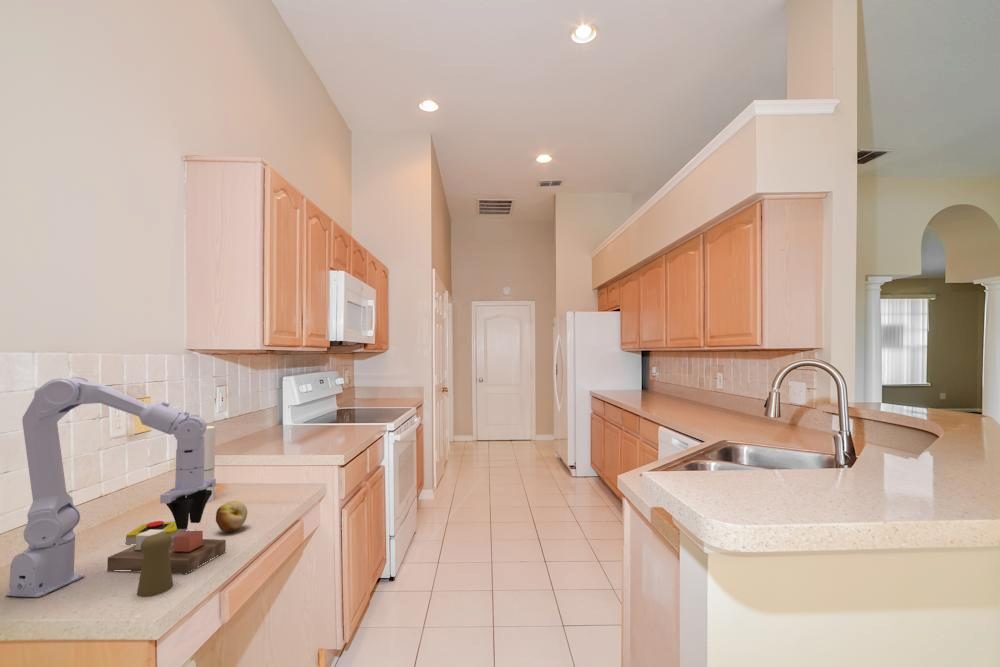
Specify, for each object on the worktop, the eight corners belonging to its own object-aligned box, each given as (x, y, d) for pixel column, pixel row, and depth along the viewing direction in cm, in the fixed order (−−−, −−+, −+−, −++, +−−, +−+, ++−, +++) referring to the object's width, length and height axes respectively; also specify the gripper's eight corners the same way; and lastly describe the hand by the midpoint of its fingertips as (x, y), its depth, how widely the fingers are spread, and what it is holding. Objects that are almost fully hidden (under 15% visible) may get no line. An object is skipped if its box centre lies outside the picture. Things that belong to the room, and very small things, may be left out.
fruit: (212, 538, 124) (213, 507, 125) (218, 528, 132) (219, 499, 132) (244, 533, 127) (245, 504, 128) (248, 524, 135) (249, 496, 135)
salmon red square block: (189, 551, 107) (189, 537, 107) (173, 551, 108) (174, 536, 108) (202, 544, 111) (202, 530, 111) (187, 544, 112) (187, 530, 112)
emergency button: (137, 519, 129) (197, 514, 132) (136, 535, 128) (197, 530, 132) (117, 531, 120) (182, 525, 123) (117, 548, 119) (182, 542, 123)
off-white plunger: (150, 550, 108) (151, 535, 109) (135, 549, 109) (135, 535, 109) (165, 543, 112) (165, 529, 113) (150, 543, 113) (150, 529, 113)
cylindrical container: (193, 499, 161) (194, 427, 163) (216, 497, 164) (217, 425, 165) (186, 505, 155) (187, 429, 156) (210, 502, 157) (211, 428, 158)
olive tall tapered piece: (179, 582, 99) (181, 529, 100) (160, 596, 93) (161, 540, 94) (150, 583, 99) (152, 530, 99) (129, 597, 93) (130, 541, 93)
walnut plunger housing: (187, 574, 103) (187, 560, 103) (107, 570, 105) (107, 557, 105) (225, 552, 115) (225, 539, 115) (153, 549, 117) (153, 537, 117)
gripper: (180, 474, 103) (179, 537, 102) (227, 461, 117) (226, 515, 116) (152, 474, 104) (150, 536, 103) (201, 460, 118) (200, 515, 117)
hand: (188, 525), depth 110 cm, fingers open, 3 cm apart
